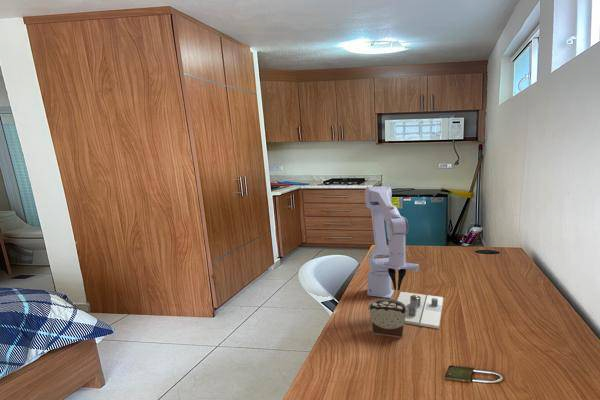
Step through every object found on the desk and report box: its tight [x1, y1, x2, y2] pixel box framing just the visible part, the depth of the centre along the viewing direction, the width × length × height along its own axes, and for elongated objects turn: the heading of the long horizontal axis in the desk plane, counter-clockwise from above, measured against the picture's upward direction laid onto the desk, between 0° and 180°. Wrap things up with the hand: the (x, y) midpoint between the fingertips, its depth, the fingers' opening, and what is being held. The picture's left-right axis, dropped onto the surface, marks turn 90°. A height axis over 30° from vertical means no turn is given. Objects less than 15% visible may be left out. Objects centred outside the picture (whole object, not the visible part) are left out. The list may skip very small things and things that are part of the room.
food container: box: [367, 298, 408, 339], centre depth 117 cm, size 12×6×10 cm, turn 71°
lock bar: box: [409, 295, 421, 315], centre depth 130 cm, size 11×4×3 cm, turn 156°
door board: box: [396, 291, 444, 330], centre depth 132 cm, size 16×24×3 cm, turn 156°
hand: (396, 288), depth 128 cm, fingers closed
